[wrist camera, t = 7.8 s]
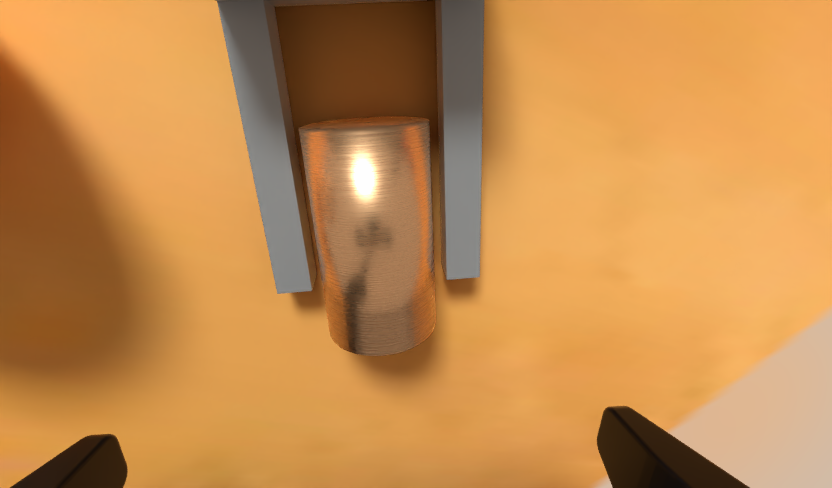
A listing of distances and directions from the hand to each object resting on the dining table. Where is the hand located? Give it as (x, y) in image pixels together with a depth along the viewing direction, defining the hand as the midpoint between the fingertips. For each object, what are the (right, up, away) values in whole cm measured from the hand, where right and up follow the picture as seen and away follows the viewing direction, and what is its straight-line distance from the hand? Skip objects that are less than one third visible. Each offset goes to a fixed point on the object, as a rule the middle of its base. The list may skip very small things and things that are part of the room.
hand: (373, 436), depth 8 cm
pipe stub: (-2, +5, +9) cm, 11 cm away
